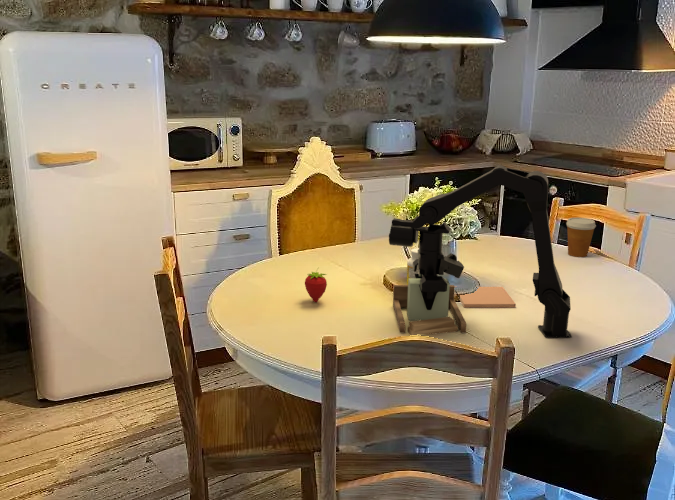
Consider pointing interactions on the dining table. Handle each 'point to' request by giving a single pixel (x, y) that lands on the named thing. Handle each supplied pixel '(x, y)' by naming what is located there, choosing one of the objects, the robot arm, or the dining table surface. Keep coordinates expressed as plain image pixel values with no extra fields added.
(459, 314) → the rack
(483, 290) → the tile
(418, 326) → the offcut stack
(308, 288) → the strawberry
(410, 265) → the supplement bottle
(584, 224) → the disposable coffee cup
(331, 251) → the dining table surface
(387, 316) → the dining table surface
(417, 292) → the sage green square block
